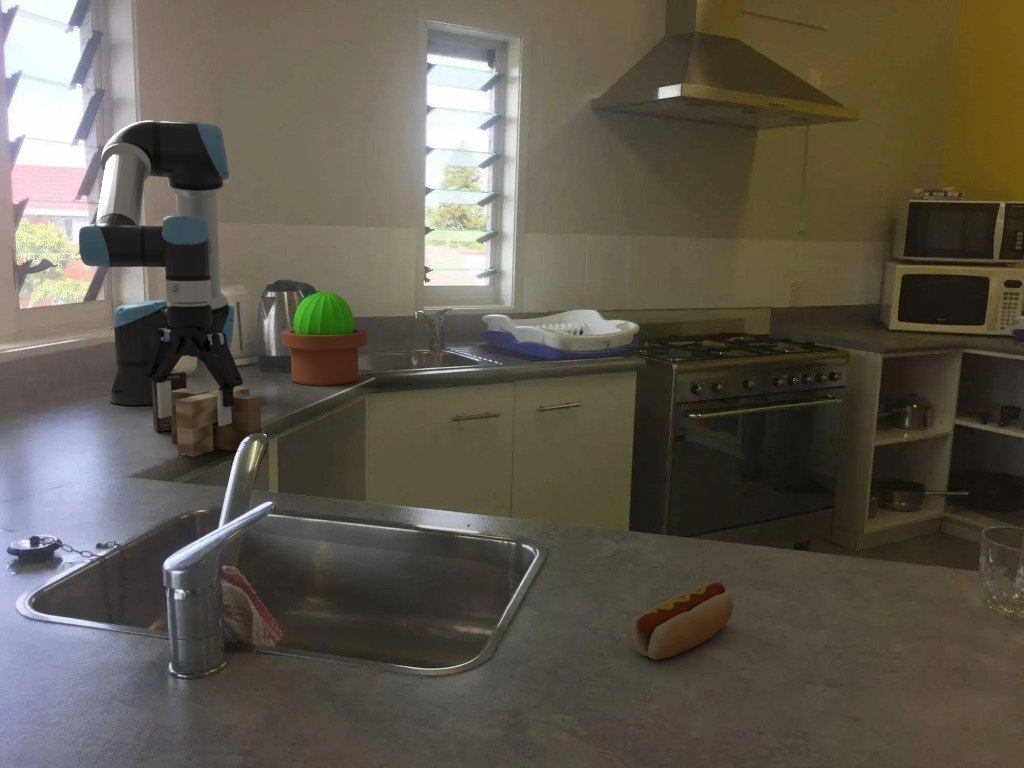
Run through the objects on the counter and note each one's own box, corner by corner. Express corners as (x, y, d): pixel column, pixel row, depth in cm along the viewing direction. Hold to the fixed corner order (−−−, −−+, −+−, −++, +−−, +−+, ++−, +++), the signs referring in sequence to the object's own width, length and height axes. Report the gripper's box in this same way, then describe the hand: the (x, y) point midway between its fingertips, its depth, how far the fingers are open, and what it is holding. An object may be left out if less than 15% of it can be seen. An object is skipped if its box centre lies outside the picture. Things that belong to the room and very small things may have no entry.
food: (664, 675, 82) (666, 624, 82) (617, 654, 86) (619, 606, 85) (742, 629, 92) (745, 584, 91) (697, 613, 96) (700, 569, 95)
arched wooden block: (193, 456, 158) (191, 401, 156) (178, 454, 159) (175, 400, 157) (250, 438, 172) (249, 387, 171) (236, 436, 174) (234, 386, 172)
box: (158, 433, 175) (155, 373, 173) (153, 429, 179) (150, 370, 177) (189, 430, 179) (186, 371, 177) (184, 425, 182) (181, 368, 180)
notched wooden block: (172, 442, 168) (169, 391, 166) (185, 439, 171) (183, 388, 169) (249, 452, 161) (247, 399, 159) (261, 448, 164) (260, 396, 163)
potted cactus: (382, 381, 241) (381, 289, 237) (316, 390, 225) (314, 292, 221) (333, 371, 255) (331, 285, 251) (267, 380, 239) (264, 288, 235)
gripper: (119, 301, 157) (126, 417, 161) (232, 309, 148) (236, 432, 152) (150, 298, 164) (156, 409, 168) (260, 306, 155) (264, 423, 159)
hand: (194, 420), depth 160 cm, fingers open, 13 cm apart
